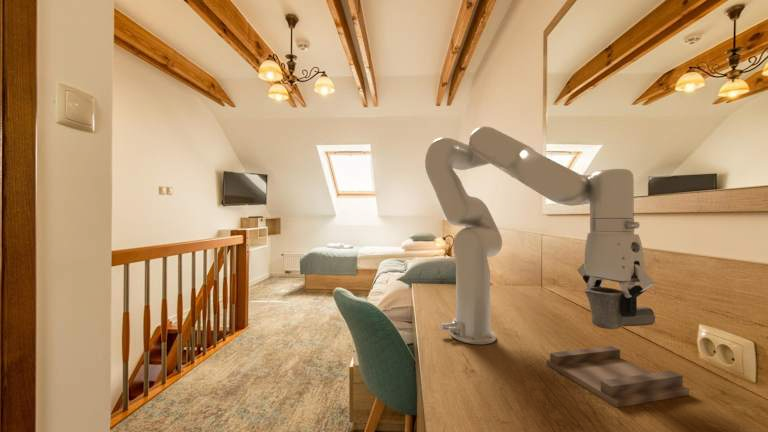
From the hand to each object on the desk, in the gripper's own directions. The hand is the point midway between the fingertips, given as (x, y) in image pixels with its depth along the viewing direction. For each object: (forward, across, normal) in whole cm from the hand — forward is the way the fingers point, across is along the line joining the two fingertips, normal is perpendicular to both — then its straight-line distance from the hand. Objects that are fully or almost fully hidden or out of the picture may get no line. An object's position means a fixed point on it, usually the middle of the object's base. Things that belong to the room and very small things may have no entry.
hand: (611, 310), depth 62 cm
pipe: (+4, 0, -1) cm, 4 cm away
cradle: (+14, 0, 0) cm, 14 cm away
